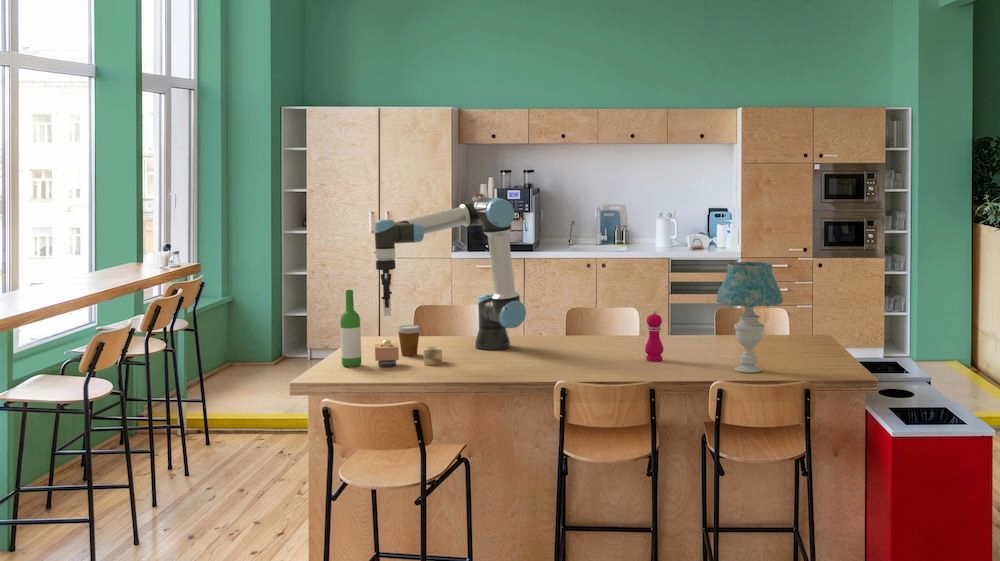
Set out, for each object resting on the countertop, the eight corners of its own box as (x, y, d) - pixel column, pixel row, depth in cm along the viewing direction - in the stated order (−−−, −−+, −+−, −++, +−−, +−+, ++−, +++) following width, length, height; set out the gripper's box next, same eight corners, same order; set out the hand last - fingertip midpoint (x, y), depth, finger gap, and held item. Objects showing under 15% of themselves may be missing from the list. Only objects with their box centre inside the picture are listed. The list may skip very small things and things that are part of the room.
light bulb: (396, 363, 393) (395, 338, 392) (396, 367, 386) (395, 341, 385) (378, 364, 392) (377, 339, 391) (378, 367, 385) (377, 342, 384)
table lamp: (793, 375, 359) (795, 265, 355) (732, 379, 354) (733, 268, 350) (763, 363, 382) (764, 260, 378) (705, 366, 377) (706, 262, 373)
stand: (441, 361, 396) (441, 346, 396) (442, 364, 390) (441, 349, 389) (423, 361, 396) (423, 347, 395) (424, 365, 389) (424, 350, 388)
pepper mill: (664, 359, 393) (665, 309, 391) (661, 362, 386) (661, 312, 384) (646, 358, 395) (646, 308, 393) (643, 361, 389) (643, 311, 386)
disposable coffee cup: (417, 357, 405) (416, 328, 404) (394, 357, 407) (394, 328, 406) (423, 353, 414) (422, 325, 413) (401, 352, 416) (401, 324, 415)
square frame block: (398, 355, 393) (398, 343, 393) (398, 359, 385) (398, 347, 384) (375, 356, 392) (375, 344, 392) (375, 360, 384) (375, 348, 383)
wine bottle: (345, 368, 385) (342, 291, 382) (339, 365, 392) (336, 289, 389) (364, 366, 389) (362, 290, 385) (357, 363, 396) (355, 288, 392)
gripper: (376, 256, 397) (378, 309, 399) (375, 262, 372) (377, 318, 374) (395, 256, 397) (396, 308, 400) (395, 262, 373) (397, 317, 375)
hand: (387, 313), depth 387 cm, fingers open, 13 cm apart
